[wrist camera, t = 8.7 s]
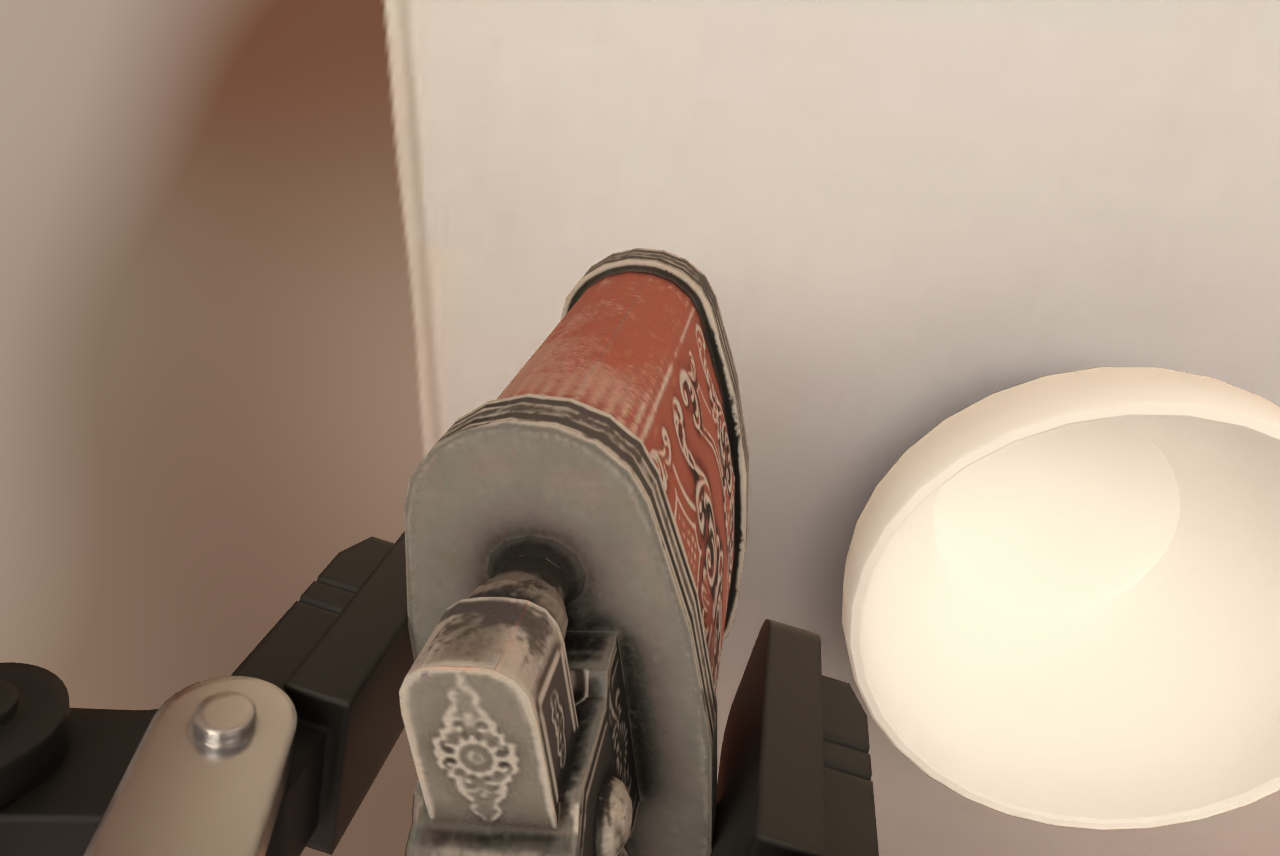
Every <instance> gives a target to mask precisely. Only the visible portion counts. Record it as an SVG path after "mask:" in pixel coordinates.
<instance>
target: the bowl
mask: <svg viewBox="0 0 1280 856" xmlns="http://www.w3.org/2000/svg"><path fill="white" fill-rule="evenodd" d="M842 625H843V630H844V635H845V639H846V644H847V649H848V654H849V659H850V663H851V668H852V672H853V677H854V681H855V683H856V685H857V687H858V689H859V692H860V694H861V696H862V698H863V700H864V702H865V704H866V706H867V709H868V711H869V713H870V715H871V717H872V718H873V719H874V721H875V722H876V723H877V724H878V726H879V727H880V728H881V730H882V731H883V732H884V734H885V735H886V736H887V737H888V739H889V740H890V741H891V743H892V744H893V745H894V747H895V748H896V749H897V750H899V751H900V752H901V753H902V754H903V755H904V756H906V757H907V758H908V759H909V760H910V761H911V762H912V763H914V764H915V765H916V766H917V767H918V768H919V769H920V770H922V771H923V772H924V773H925V774H926V775H928V776H929V777H931V778H933V779H934V780H936V781H938V782H939V783H941V784H943V785H944V786H946V787H948V788H949V789H951V790H953V791H954V792H956V793H958V794H959V795H961V796H963V797H965V798H967V799H970V800H972V801H975V802H977V803H980V804H982V805H985V806H987V807H990V808H992V809H995V810H997V811H1000V812H1003V813H1005V814H1009V815H1013V816H1017V817H1021V818H1026V819H1030V820H1034V821H1038V822H1042V823H1047V824H1051V825H1058V826H1069V827H1079V828H1090V829H1100V830H1105V829H1131V828H1153V827H1159V826H1165V825H1170V824H1176V823H1182V822H1188V821H1193V820H1199V819H1204V818H1207V817H1210V816H1213V815H1216V814H1219V813H1222V812H1226V811H1229V810H1232V809H1235V808H1238V807H1241V806H1245V805H1248V804H1251V803H1253V802H1255V801H1257V800H1259V799H1261V798H1263V797H1265V796H1267V795H1269V794H1271V793H1273V792H1276V791H1278V790H1280V407H1279V406H1277V405H1275V404H1273V403H1272V402H1270V401H1268V400H1267V399H1265V398H1263V397H1261V396H1258V395H1256V394H1253V393H1251V392H1248V391H1245V390H1243V389H1240V388H1238V387H1235V386H1233V385H1230V384H1227V383H1225V382H1222V381H1220V380H1217V379H1215V378H1212V377H1206V376H1201V375H1195V374H1190V373H1184V372H1179V371H1173V370H1168V369H1162V368H1152V367H1098V368H1092V369H1086V370H1080V371H1074V372H1068V373H1062V374H1056V375H1049V376H1044V377H1041V378H1036V379H1033V380H1031V381H1028V382H1025V383H1022V384H1019V385H1016V386H1013V387H1010V388H1007V389H1004V390H1001V391H998V392H995V393H992V394H990V395H988V396H987V397H985V398H983V399H981V400H979V401H977V402H975V403H974V404H972V405H970V406H968V407H966V408H964V409H963V410H961V411H959V412H957V413H955V414H953V415H951V416H950V417H949V418H947V419H945V420H944V421H943V422H941V423H940V424H939V425H938V426H936V427H935V428H934V429H933V430H931V431H930V432H929V433H928V434H926V435H925V436H924V437H923V438H921V439H920V440H919V441H918V442H916V443H915V444H914V445H913V446H911V447H910V448H909V449H908V450H906V452H905V453H904V454H903V455H902V456H901V457H900V459H899V460H898V461H897V462H896V463H895V465H894V466H893V467H892V468H891V469H890V470H889V472H888V473H887V474H886V475H885V476H884V477H883V479H882V480H881V481H880V482H879V483H878V484H877V486H876V488H875V490H874V492H873V493H872V495H871V497H870V499H869V501H868V503H867V504H866V506H865V508H864V510H863V512H862V514H861V515H860V517H859V519H858V521H857V523H856V527H855V530H854V534H853V537H852V541H851V544H850V548H849V551H848V555H847V558H846V564H845V573H844V582H843V606H842Z"/></svg>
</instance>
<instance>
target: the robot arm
mask: <svg viewBox="0 0 1280 856" xmlns="http://www.w3.org/2000/svg"><path fill="white" fill-rule="evenodd" d="M408 618H409V617H408V608H407V579H406V549H405V531H404V533H403V534H402V535H401V537H400V538H399V539H398V540H397V541H396V543H395V544H394V543H391V542H387V541H384V540H381V539H378V538H375V537H370V538H368V539H366V540H364V541H362V542H360V543H358V544H356V545H354V546H352V547H350V548H348V549H346V550H344V551H342V552H340V553H338V555H337V556H336V557H335V558H334V559H333V560H332V561H331V563H330V564H329V565H328V566H327V567H326V568H325V569H324V570H323V572H322V573H321V574H320V575H319V576H318V579H317V581H316V582H315V581H314V582H313V583H312V584H311V585H310V586H309V587H308V589H307V590H306V591H305V592H304V593H303V594H302V595H301V598H300V600H299V602H298V601H296V602H295V603H294V604H293V606H292V607H291V608H290V609H289V610H288V611H287V612H286V614H285V615H284V616H283V617H282V618H281V619H280V620H279V621H278V623H277V624H276V625H275V626H274V627H273V628H272V630H270V632H269V633H268V634H267V635H266V636H265V637H264V638H263V640H262V641H261V642H260V643H259V644H258V645H257V646H256V648H255V649H254V650H253V651H252V652H251V653H250V654H249V656H248V657H247V658H246V659H245V660H244V661H243V662H242V663H241V664H240V666H239V667H238V668H237V669H236V670H235V671H234V672H233V674H232V675H231V676H223V677H216V678H211V679H207V680H204V681H201V682H197V683H195V684H192V685H190V686H188V687H186V688H184V689H182V690H180V691H179V692H177V693H175V694H174V695H173V696H172V697H170V698H169V699H168V700H166V701H165V702H164V704H163V705H162V706H161V707H160V708H159V709H154V710H109V709H82V708H70V707H69V695H68V692H67V688H66V687H65V685H64V683H63V681H62V680H60V679H59V677H57V676H56V675H55V674H53V673H52V672H50V671H48V670H46V669H44V668H41V667H38V666H34V665H30V664H23V663H0V856H300V854H301V853H302V851H303V850H304V848H305V846H306V847H309V848H312V849H315V850H319V851H322V852H325V853H328V854H331V855H332V853H333V852H334V850H335V848H336V846H337V845H338V843H339V841H340V839H341V837H342V836H343V834H344V832H345V831H346V829H347V827H348V825H349V823H350V822H351V820H352V818H353V817H354V815H355V813H356V811H357V810H358V808H359V806H360V804H361V803H362V801H363V799H364V797H365V796H366V794H367V792H368V790H369V789H370V787H371V785H372V783H373V782H374V780H375V778H376V776H377V775H378V773H379V771H380V769H381V768H382V766H383V764H384V762H385V760H386V759H387V757H388V755H389V754H390V752H391V750H392V748H393V746H394V745H395V743H396V741H397V739H398V738H399V736H400V734H401V733H402V731H403V729H404V727H405V726H404V722H403V718H402V715H401V708H400V698H399V690H400V688H401V686H402V683H403V681H404V679H405V677H406V675H407V673H408V672H409V670H410V668H411V667H412V665H413V664H414V657H413V651H412V646H411V640H410V634H409V628H408ZM869 748H870V747H869V735H868V724H867V715H866V714H865V712H864V710H863V708H862V706H861V704H860V703H859V701H858V699H857V697H856V695H855V693H854V692H853V690H852V688H851V686H850V684H849V683H846V682H842V681H839V680H836V679H833V678H829V677H826V676H823V675H822V670H821V639H820V636H819V635H818V634H815V633H812V632H809V631H805V630H802V629H799V628H795V627H792V626H789V625H786V624H782V623H779V622H776V621H772V620H769V619H766V620H765V621H764V623H763V625H762V627H761V630H760V632H759V635H758V637H757V640H756V643H755V645H754V648H753V651H752V653H751V656H750V658H749V661H748V664H747V666H746V669H745V672H744V674H743V677H742V679H741V682H740V685H739V687H738V690H737V693H736V695H735V698H734V701H733V703H732V706H731V710H730V713H729V716H728V720H727V724H726V728H725V732H724V737H723V743H722V749H721V757H720V766H719V774H718V783H717V807H716V816H715V824H714V833H713V842H712V851H711V854H710V856H879V852H878V840H877V829H876V817H875V805H874V794H873V782H872V781H871V776H872V770H871V759H870V754H868V752H869Z"/></svg>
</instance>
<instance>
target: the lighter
mask: <svg viewBox="0 0 1280 856" xmlns="http://www.w3.org/2000/svg"><path fill="white" fill-rule="evenodd" d="M748 479H749V453H748V446H747V439H746V432H745V424H744V417H743V410H742V403H741V396H740V389H739V381H738V375H737V372H736V368H735V364H734V360H733V357H732V353H731V349H730V346H729V342H728V338H727V335H726V331H725V327H724V324H723V320H722V316H721V313H720V309H719V305H718V302H717V298H716V295H715V293H714V291H713V289H712V287H711V285H710V283H709V281H708V280H707V278H706V276H705V275H704V274H703V273H701V272H700V271H699V270H698V269H697V268H696V267H695V266H694V265H692V264H691V263H690V262H689V261H688V260H686V259H684V258H681V257H679V256H676V255H674V254H671V253H669V252H667V251H664V250H654V249H642V248H636V249H632V250H627V251H623V252H618V253H614V254H611V255H610V256H608V257H607V258H605V259H603V260H602V261H600V262H598V263H597V264H595V265H593V266H592V267H591V268H590V269H589V270H588V271H587V273H586V274H585V275H584V276H583V277H582V278H581V280H580V281H579V282H578V283H577V285H576V286H575V287H574V288H573V290H572V291H571V292H570V294H569V295H568V296H567V297H566V301H565V305H564V308H563V312H562V315H561V322H560V323H559V324H558V325H557V326H556V328H555V329H554V330H553V331H552V332H551V334H550V335H549V336H548V337H547V339H546V340H545V341H544V342H543V343H542V345H541V346H540V347H539V348H538V350H537V351H536V352H535V353H534V354H533V356H532V357H531V358H530V359H529V360H528V362H527V363H526V364H525V365H524V367H523V368H522V369H521V370H520V371H519V373H518V374H517V375H516V376H515V378H514V379H513V380H512V381H511V382H510V384H509V385H508V386H507V387H506V388H505V390H504V391H503V392H502V393H501V395H500V396H499V397H498V398H497V399H496V400H493V401H489V402H487V403H485V404H483V405H482V406H480V407H478V408H476V409H475V410H473V411H471V412H469V413H468V414H466V415H464V416H462V417H461V418H459V419H457V421H456V422H455V423H454V424H453V425H452V426H451V427H450V428H449V430H448V431H447V432H446V433H445V434H444V435H443V436H442V438H441V439H440V440H439V441H438V442H437V443H436V444H435V446H434V447H433V448H432V449H431V450H430V452H429V453H428V454H427V455H426V457H425V458H424V459H423V461H422V462H421V463H420V464H419V466H418V467H417V468H416V470H415V471H414V472H413V474H412V475H411V477H410V481H409V486H408V490H407V496H406V500H405V505H404V517H405V518H404V519H405V549H406V579H407V608H408V617H409V618H408V628H409V634H410V640H411V646H412V651H413V657H414V664H413V665H412V667H411V668H410V670H409V672H408V673H407V675H406V677H405V679H404V681H403V683H402V686H401V688H400V690H399V698H400V708H401V715H402V718H403V722H404V726H405V730H406V733H407V737H408V740H409V744H410V748H411V752H412V756H413V759H414V763H415V767H416V771H417V774H418V781H417V785H416V789H415V792H414V799H413V811H412V825H411V829H410V833H409V837H408V841H407V845H406V852H405V856H710V854H711V851H712V842H713V833H714V824H715V816H716V807H717V699H716V686H717V679H718V671H719V664H720V656H721V649H722V641H723V639H725V638H726V637H727V636H728V634H729V631H730V629H731V627H732V625H733V622H734V619H735V613H736V606H737V600H738V594H739V588H740V581H741V575H742V569H743V563H744V556H745V548H746V540H747V531H748Z"/></svg>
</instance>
